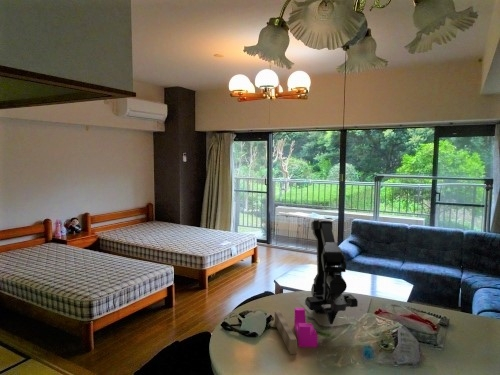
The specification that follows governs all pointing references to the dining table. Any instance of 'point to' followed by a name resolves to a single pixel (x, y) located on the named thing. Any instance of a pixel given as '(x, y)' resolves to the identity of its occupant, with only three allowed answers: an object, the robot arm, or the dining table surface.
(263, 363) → the dining table surface
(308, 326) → the toy block
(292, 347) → the batten
